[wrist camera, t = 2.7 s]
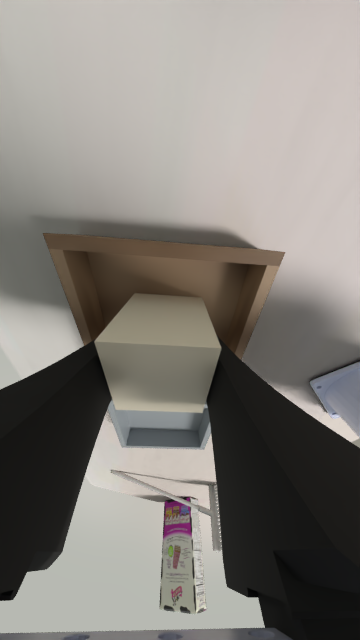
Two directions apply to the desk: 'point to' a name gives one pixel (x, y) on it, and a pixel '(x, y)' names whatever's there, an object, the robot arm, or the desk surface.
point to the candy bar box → (182, 559)
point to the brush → (211, 512)
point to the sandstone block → (159, 354)
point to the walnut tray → (163, 280)
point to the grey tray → (161, 428)
